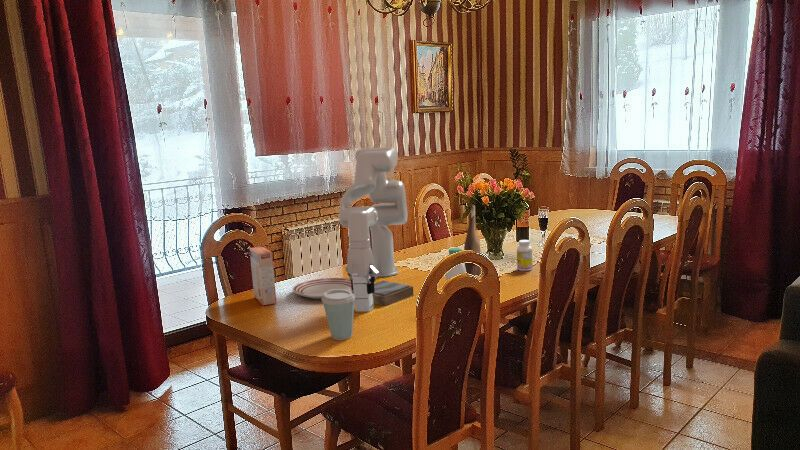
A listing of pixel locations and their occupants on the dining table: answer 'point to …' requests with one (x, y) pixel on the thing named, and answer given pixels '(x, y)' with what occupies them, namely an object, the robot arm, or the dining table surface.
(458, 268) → the milk bottle
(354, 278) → the syrup box
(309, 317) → the dining table surface
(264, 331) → the dining table surface
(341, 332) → the disposable coffee cup
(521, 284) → the dining table surface
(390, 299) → the podium
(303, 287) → the dinner plate
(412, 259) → the dining table surface
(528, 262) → the supplement bottle
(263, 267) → the cracker box
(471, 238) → the grey vase
